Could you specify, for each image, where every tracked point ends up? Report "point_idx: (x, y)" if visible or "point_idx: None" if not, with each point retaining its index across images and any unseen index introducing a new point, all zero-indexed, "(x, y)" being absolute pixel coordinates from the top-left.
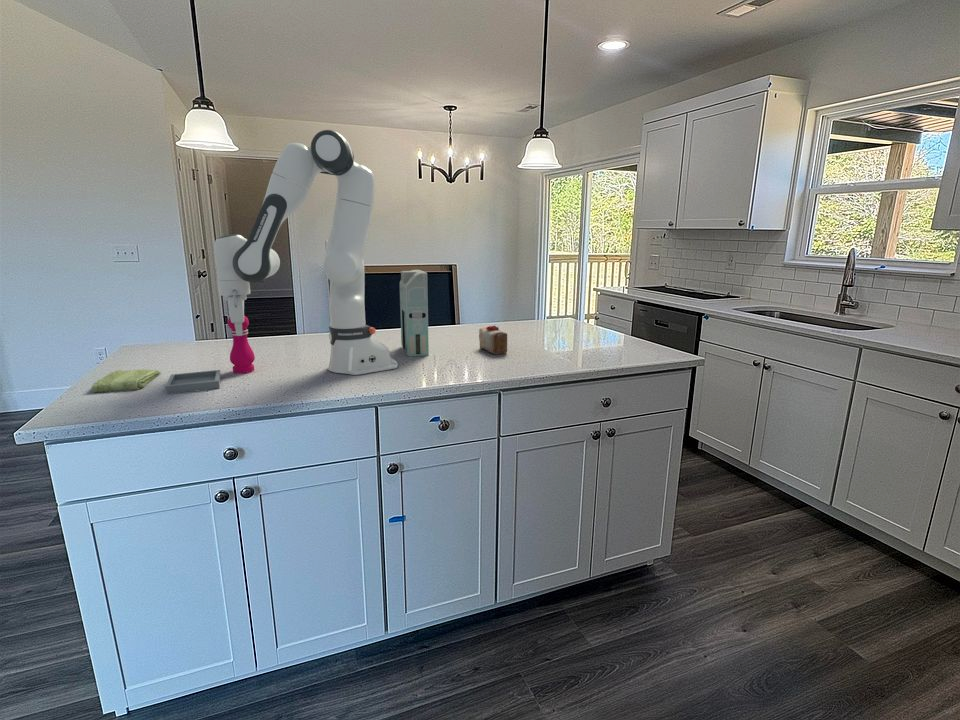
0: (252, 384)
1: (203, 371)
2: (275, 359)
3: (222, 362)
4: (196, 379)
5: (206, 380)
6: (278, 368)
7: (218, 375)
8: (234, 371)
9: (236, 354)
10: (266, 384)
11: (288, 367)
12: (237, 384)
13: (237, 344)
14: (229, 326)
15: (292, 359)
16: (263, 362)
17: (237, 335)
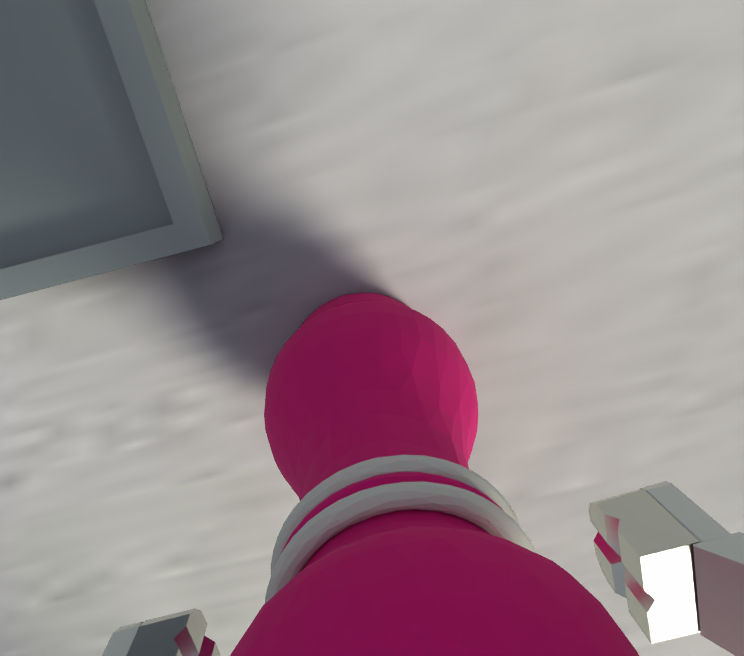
0: (9, 504)
1: (161, 112)
2: None
3: (688, 114)
4: (59, 88)
5: (27, 185)
6: None
7: (19, 288)
8: (309, 317)
9: (273, 410)
10: (9, 581)
11: None
12: (8, 413)
13: (303, 471)
14: (288, 584)
15: None
16: (594, 432)
17: (126, 633)
